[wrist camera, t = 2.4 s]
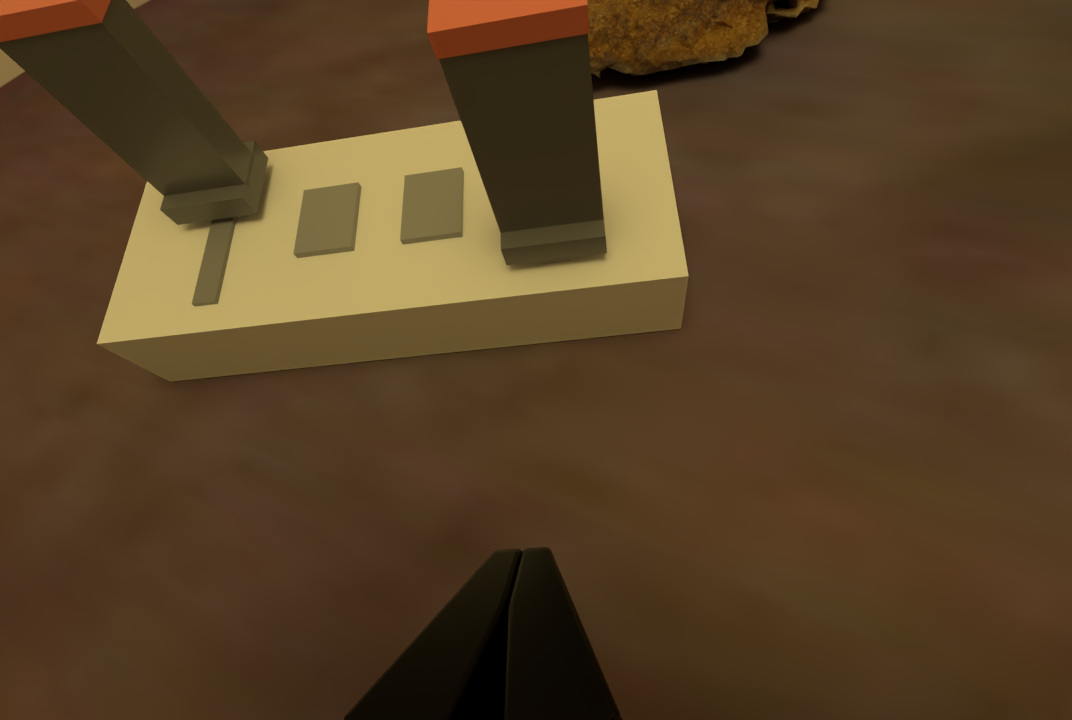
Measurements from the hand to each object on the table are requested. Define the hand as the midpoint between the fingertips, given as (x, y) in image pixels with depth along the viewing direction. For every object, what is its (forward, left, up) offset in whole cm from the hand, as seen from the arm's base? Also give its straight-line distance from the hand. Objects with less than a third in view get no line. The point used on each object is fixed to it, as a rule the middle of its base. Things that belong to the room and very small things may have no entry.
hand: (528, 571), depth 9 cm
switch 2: (+8, +10, -9) cm, 15 cm away
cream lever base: (+4, +16, -13) cm, 21 cm away
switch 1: (0, +22, -9) cm, 23 cm away
